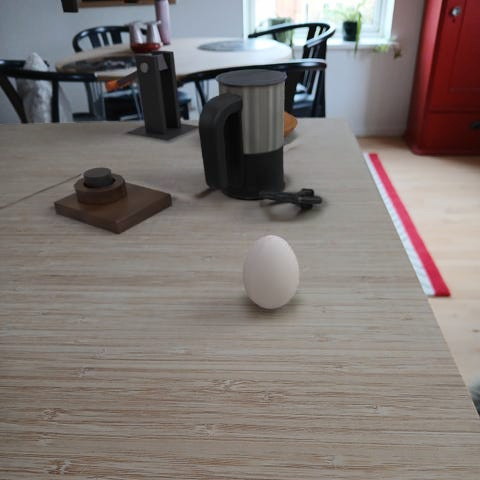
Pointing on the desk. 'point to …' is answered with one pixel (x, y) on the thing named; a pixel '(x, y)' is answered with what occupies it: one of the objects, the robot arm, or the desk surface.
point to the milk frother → (248, 138)
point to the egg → (270, 272)
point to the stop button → (98, 177)
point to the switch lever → (132, 76)
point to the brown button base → (112, 204)
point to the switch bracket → (159, 98)
